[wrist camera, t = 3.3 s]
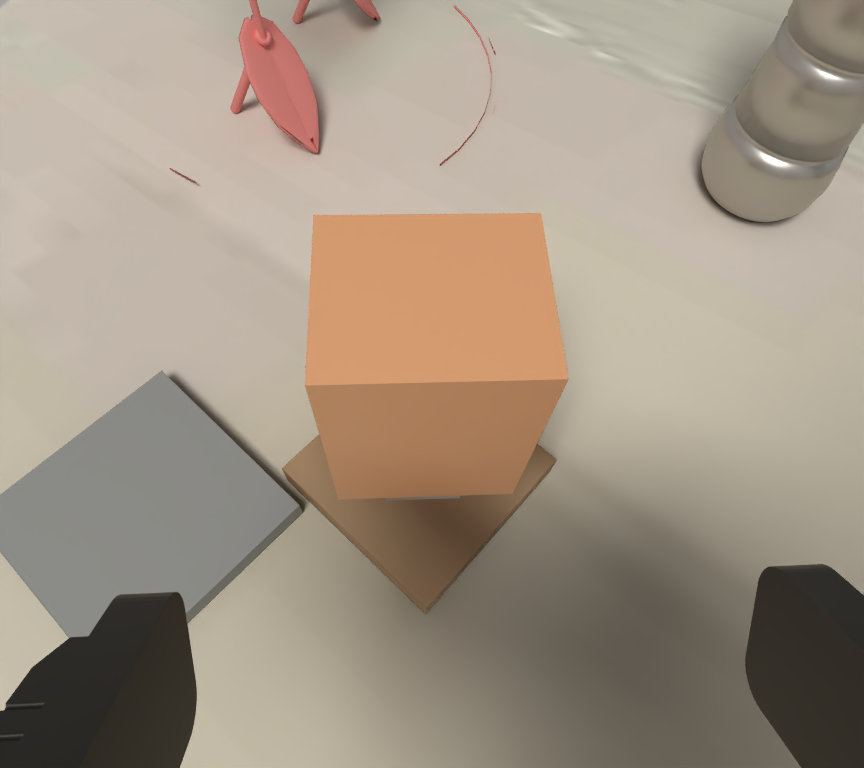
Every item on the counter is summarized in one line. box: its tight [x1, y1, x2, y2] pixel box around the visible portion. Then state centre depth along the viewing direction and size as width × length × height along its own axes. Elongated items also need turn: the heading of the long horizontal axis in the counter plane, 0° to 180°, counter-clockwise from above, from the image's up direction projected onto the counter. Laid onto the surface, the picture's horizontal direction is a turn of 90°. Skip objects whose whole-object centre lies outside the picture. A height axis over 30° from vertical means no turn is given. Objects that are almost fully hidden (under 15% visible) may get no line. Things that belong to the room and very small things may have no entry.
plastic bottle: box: [701, 0, 864, 222], centre depth 27 cm, size 6×7×20 cm
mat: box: [0, 371, 303, 638], centre depth 26 cm, size 9×9×1 cm
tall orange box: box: [305, 213, 568, 500], centre depth 19 cm, size 5×6×8 cm
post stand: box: [282, 434, 556, 614], centre depth 22 cm, size 11×11×12 cm
